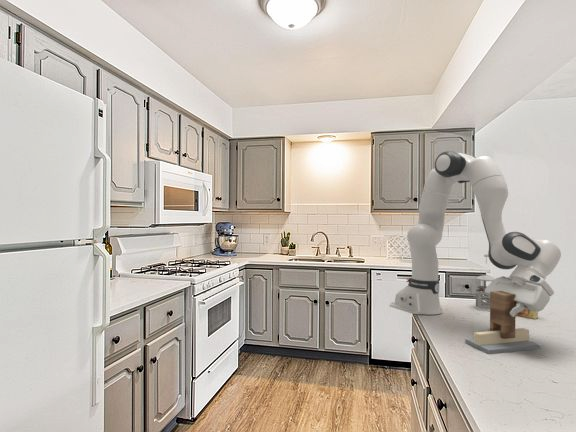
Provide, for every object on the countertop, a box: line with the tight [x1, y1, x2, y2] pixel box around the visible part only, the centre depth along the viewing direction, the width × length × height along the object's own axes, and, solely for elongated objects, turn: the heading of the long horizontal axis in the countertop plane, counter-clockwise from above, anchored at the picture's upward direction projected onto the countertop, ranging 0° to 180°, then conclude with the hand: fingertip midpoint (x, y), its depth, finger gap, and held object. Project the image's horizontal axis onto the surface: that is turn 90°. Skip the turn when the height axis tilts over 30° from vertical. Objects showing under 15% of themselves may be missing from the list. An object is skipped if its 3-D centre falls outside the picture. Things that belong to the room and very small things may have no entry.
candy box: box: [515, 308, 539, 320], centre depth 151 cm, size 9×4×15 cm, turn 44°
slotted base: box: [464, 327, 541, 355], centre depth 117 cm, size 20×10×5 cm, turn 105°
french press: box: [469, 253, 496, 313], centre depth 163 cm, size 10×12×25 cm
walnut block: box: [489, 291, 516, 339], centre depth 117 cm, size 4×6×14 cm
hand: (500, 312), depth 117 cm, fingers closed on walnut block, 6 cm apart
